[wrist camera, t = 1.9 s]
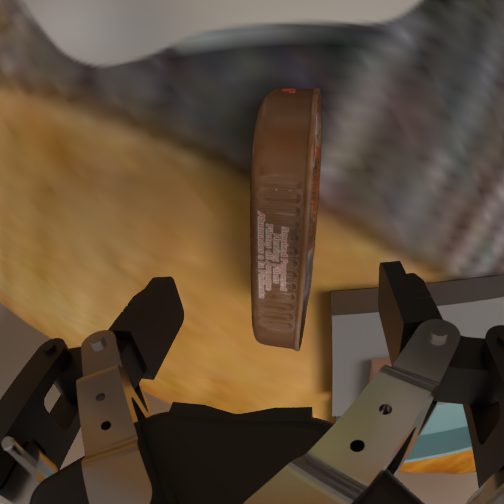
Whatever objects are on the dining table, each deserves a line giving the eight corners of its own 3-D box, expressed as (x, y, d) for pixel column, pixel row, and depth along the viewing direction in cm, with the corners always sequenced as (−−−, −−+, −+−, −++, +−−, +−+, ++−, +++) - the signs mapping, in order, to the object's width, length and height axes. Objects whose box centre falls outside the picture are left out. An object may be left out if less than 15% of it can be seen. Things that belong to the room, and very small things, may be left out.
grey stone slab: (541, 269, 19) (558, 287, 17) (507, 366, 24) (517, 386, 22) (330, 291, 24) (331, 315, 21) (332, 392, 29) (331, 416, 26)
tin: (309, 299, 25) (304, 382, 17) (268, 296, 25) (249, 377, 18) (322, 91, 18) (332, 83, 10) (271, 89, 18) (246, 81, 11)
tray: (503, 369, 25) (515, 395, 21) (477, 421, 29) (484, 445, 25) (337, 393, 29) (337, 425, 25) (334, 441, 33) (334, 469, 30)
